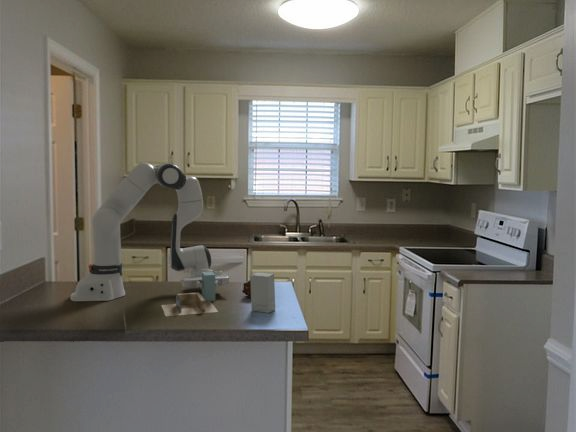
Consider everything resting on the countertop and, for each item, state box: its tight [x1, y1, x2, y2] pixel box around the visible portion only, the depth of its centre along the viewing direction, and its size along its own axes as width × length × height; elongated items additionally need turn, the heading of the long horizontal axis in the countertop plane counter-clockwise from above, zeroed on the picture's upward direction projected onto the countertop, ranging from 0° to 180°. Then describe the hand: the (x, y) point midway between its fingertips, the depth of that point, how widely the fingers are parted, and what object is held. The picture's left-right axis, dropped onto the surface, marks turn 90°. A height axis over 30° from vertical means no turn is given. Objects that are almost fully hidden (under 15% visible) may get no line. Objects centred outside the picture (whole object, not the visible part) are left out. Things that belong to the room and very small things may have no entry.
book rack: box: [161, 292, 219, 317], centre depth 196 cm, size 20×16×6 cm
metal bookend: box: [175, 294, 181, 313], centre depth 195 cm, size 1×10×4 cm, turn 20°
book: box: [201, 272, 216, 302], centre depth 211 cm, size 4×7×12 cm, turn 20°
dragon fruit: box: [242, 280, 251, 299], centre depth 220 cm, size 8×8×12 cm
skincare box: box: [249, 272, 276, 314], centre depth 198 cm, size 8×6×15 cm
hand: (208, 285), depth 210 cm, fingers closed on book, 4 cm apart
